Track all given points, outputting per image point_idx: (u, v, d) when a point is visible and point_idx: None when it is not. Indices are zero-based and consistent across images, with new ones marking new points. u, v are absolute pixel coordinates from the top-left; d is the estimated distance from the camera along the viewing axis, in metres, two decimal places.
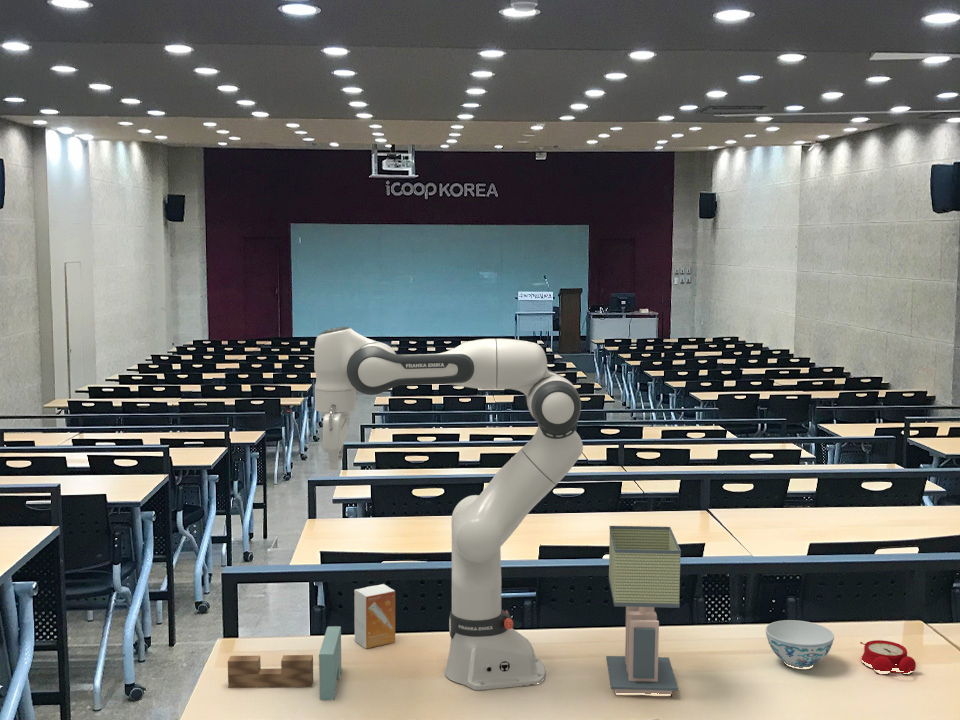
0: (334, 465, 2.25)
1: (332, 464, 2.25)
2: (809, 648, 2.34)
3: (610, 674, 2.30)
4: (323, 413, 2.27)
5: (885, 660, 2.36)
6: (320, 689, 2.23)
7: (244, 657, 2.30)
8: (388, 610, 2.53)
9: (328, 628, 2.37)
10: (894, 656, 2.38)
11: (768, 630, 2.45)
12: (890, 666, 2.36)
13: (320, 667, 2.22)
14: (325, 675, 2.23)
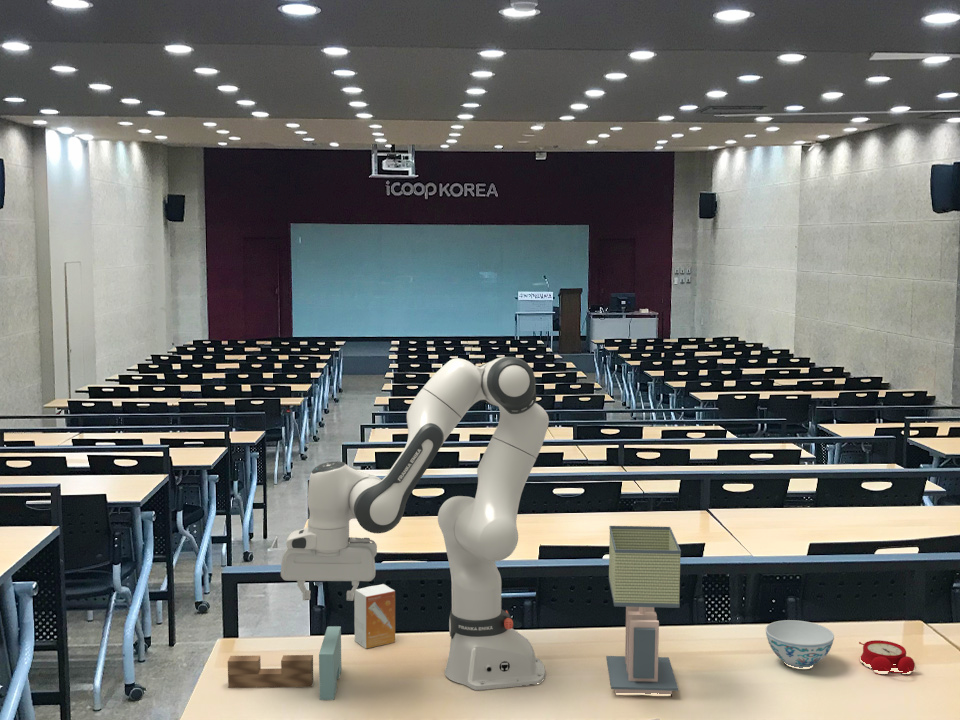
0: (353, 595, 2.29)
1: (353, 594, 2.29)
2: (809, 648, 2.34)
3: (610, 674, 2.30)
4: (336, 550, 2.25)
5: (884, 660, 2.36)
6: (320, 689, 2.23)
7: (244, 657, 2.30)
8: (388, 610, 2.53)
9: (328, 628, 2.37)
10: (893, 656, 2.38)
11: (768, 630, 2.45)
12: (889, 666, 2.36)
13: (320, 667, 2.22)
14: (325, 675, 2.23)
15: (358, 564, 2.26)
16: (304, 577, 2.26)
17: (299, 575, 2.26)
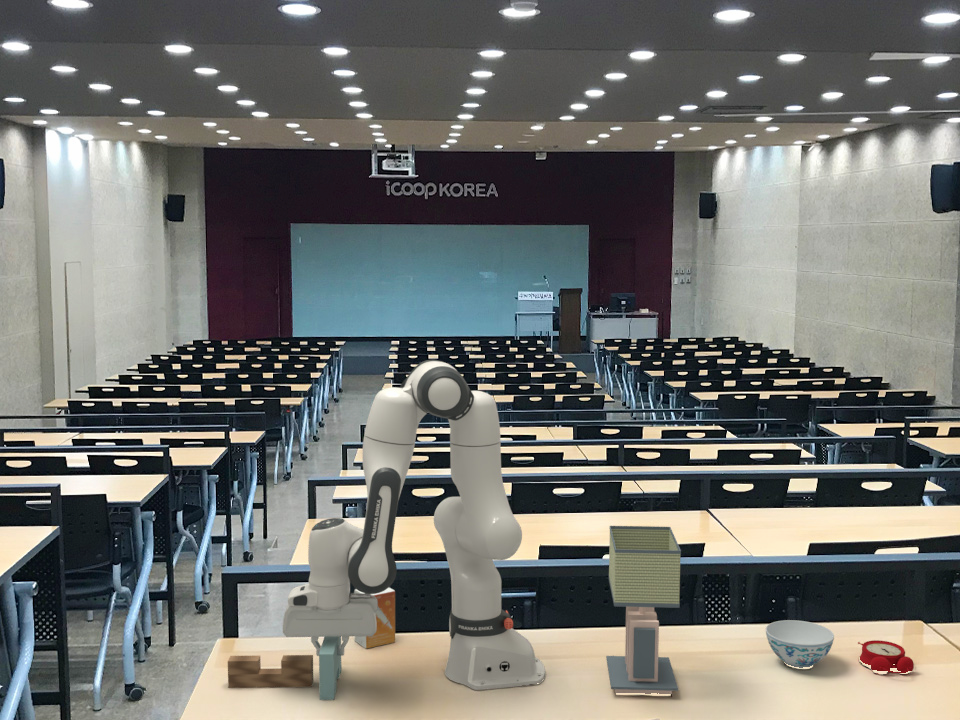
0: None
1: (343, 649, 2.30)
2: (809, 648, 2.34)
3: (610, 674, 2.30)
4: (337, 606, 2.27)
5: (883, 660, 2.36)
6: (320, 689, 2.23)
7: (244, 657, 2.30)
8: (388, 610, 2.53)
9: None
10: (892, 656, 2.38)
11: (768, 630, 2.45)
12: (888, 666, 2.36)
13: (320, 667, 2.22)
14: (325, 675, 2.23)
15: (359, 619, 2.28)
16: (306, 633, 2.28)
17: (301, 632, 2.28)
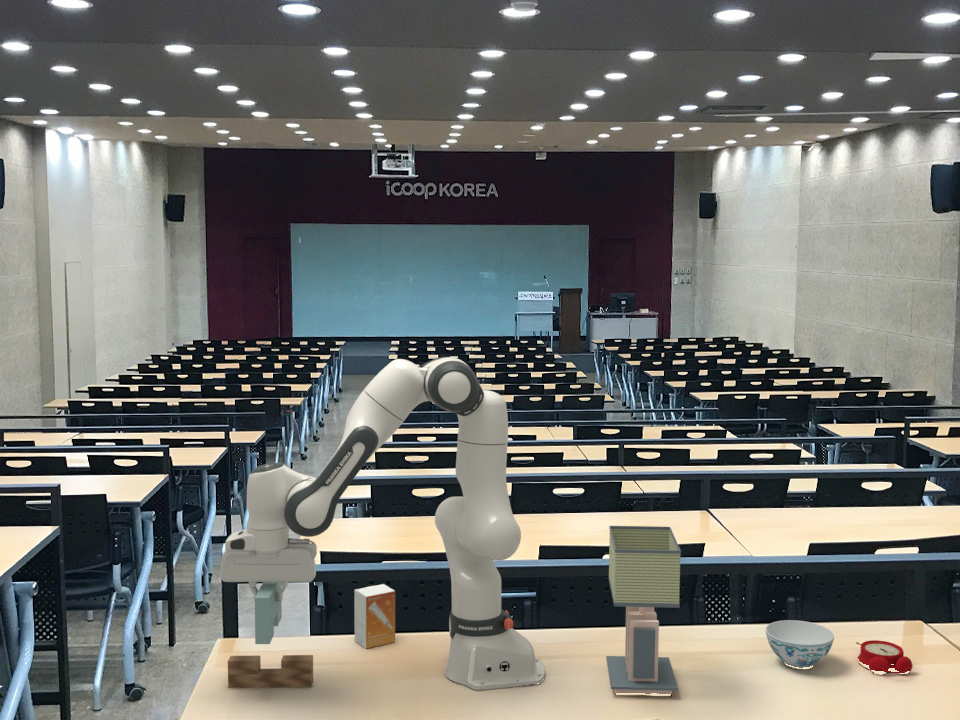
0: (282, 596, 2.29)
1: (282, 595, 2.28)
2: (809, 648, 2.34)
3: (610, 674, 2.30)
4: (275, 551, 2.25)
5: (881, 661, 2.36)
6: (256, 633, 2.21)
7: (244, 657, 2.30)
8: (388, 610, 2.53)
9: None
10: (891, 656, 2.38)
11: (768, 630, 2.45)
12: (887, 666, 2.35)
13: (256, 611, 2.20)
14: (261, 619, 2.21)
15: (297, 565, 2.26)
16: (243, 578, 2.26)
17: (238, 576, 2.26)
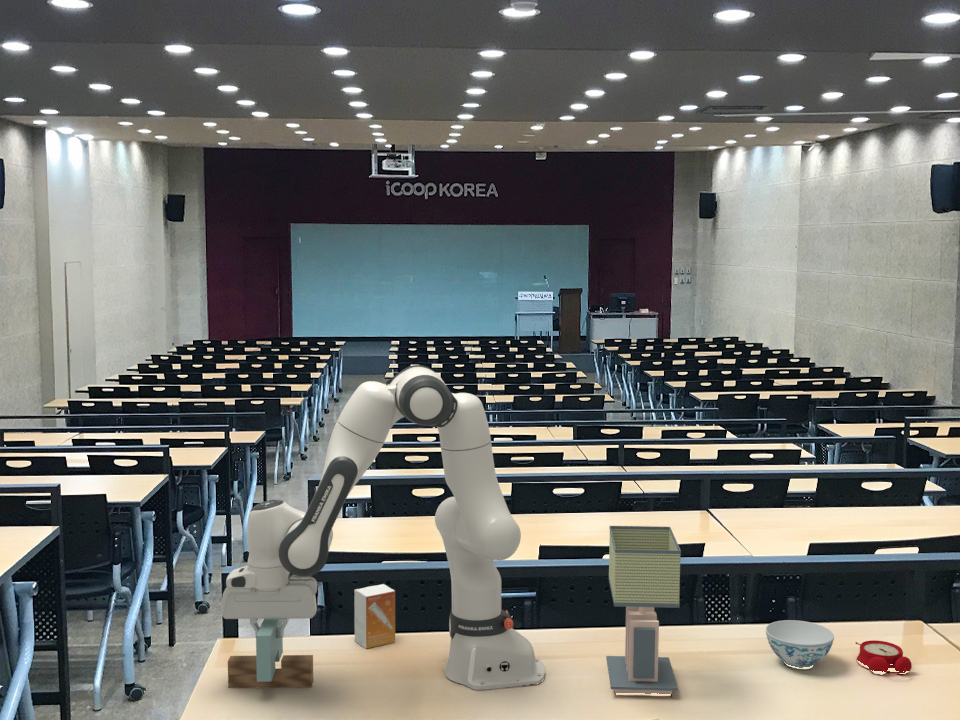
0: (283, 632, 2.29)
1: (283, 632, 2.29)
2: (809, 648, 2.34)
3: (610, 674, 2.30)
4: (276, 588, 2.26)
5: (881, 661, 2.36)
6: (257, 671, 2.22)
7: (244, 657, 2.30)
8: (388, 610, 2.53)
9: None
10: (890, 656, 2.38)
11: (768, 630, 2.45)
12: (886, 666, 2.35)
13: (257, 649, 2.21)
14: (262, 657, 2.21)
15: (298, 601, 2.27)
16: (244, 615, 2.27)
17: (239, 613, 2.27)
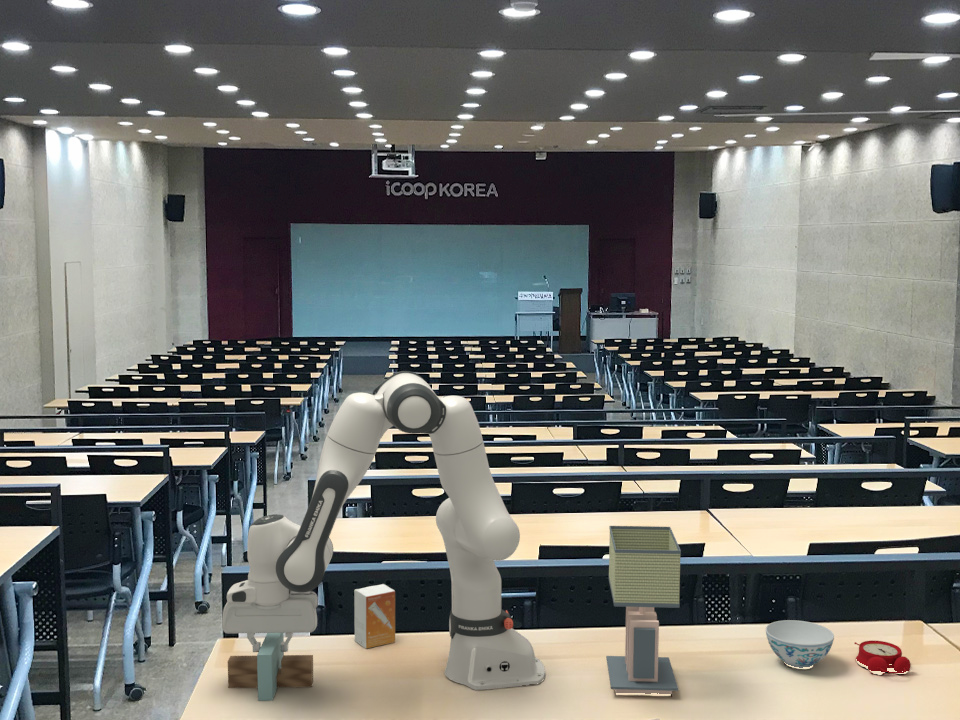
0: (287, 646, 2.30)
1: (287, 646, 2.30)
2: (809, 648, 2.34)
3: (610, 674, 2.30)
4: (277, 603, 2.26)
5: (880, 661, 2.36)
6: (258, 690, 2.22)
7: (244, 657, 2.30)
8: (388, 610, 2.53)
9: None
10: (889, 656, 2.37)
11: (768, 630, 2.45)
12: (885, 666, 2.35)
13: (258, 668, 2.22)
14: (263, 676, 2.22)
15: (298, 616, 2.27)
16: (245, 630, 2.27)
17: (240, 628, 2.27)
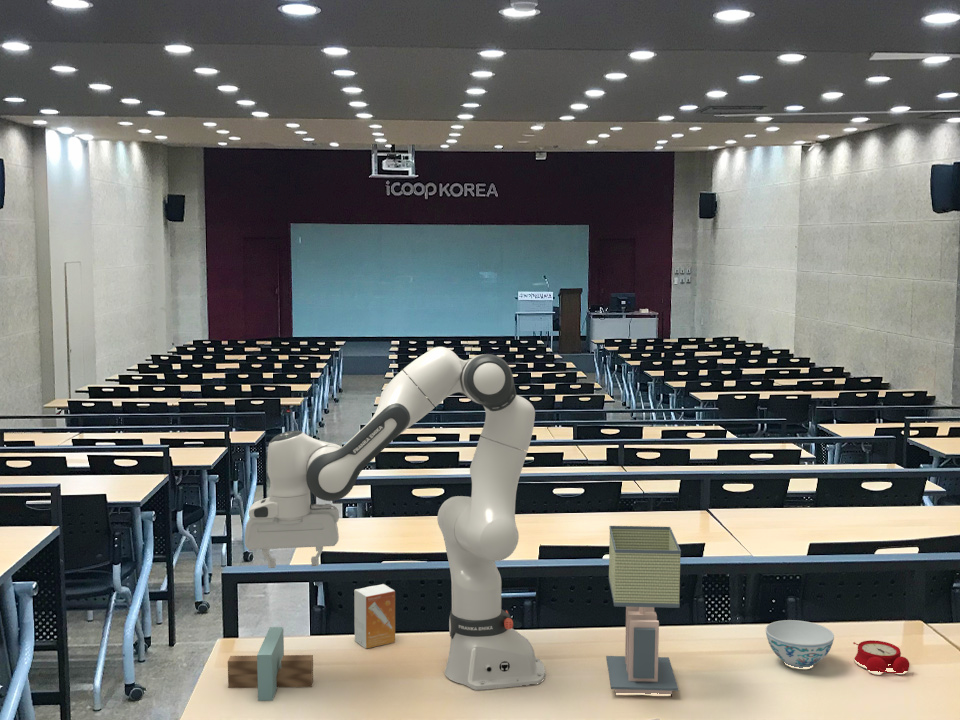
0: (318, 560, 2.33)
1: (318, 560, 2.32)
2: (809, 648, 2.34)
3: (610, 674, 2.30)
4: (298, 517, 2.29)
5: (879, 661, 2.36)
6: (258, 690, 2.22)
7: (244, 657, 2.30)
8: (388, 610, 2.53)
9: (270, 629, 2.36)
10: (888, 656, 2.37)
11: (768, 630, 2.45)
12: (884, 666, 2.35)
13: (258, 668, 2.22)
14: (263, 676, 2.22)
15: (320, 530, 2.30)
16: (268, 545, 2.30)
17: (263, 544, 2.30)
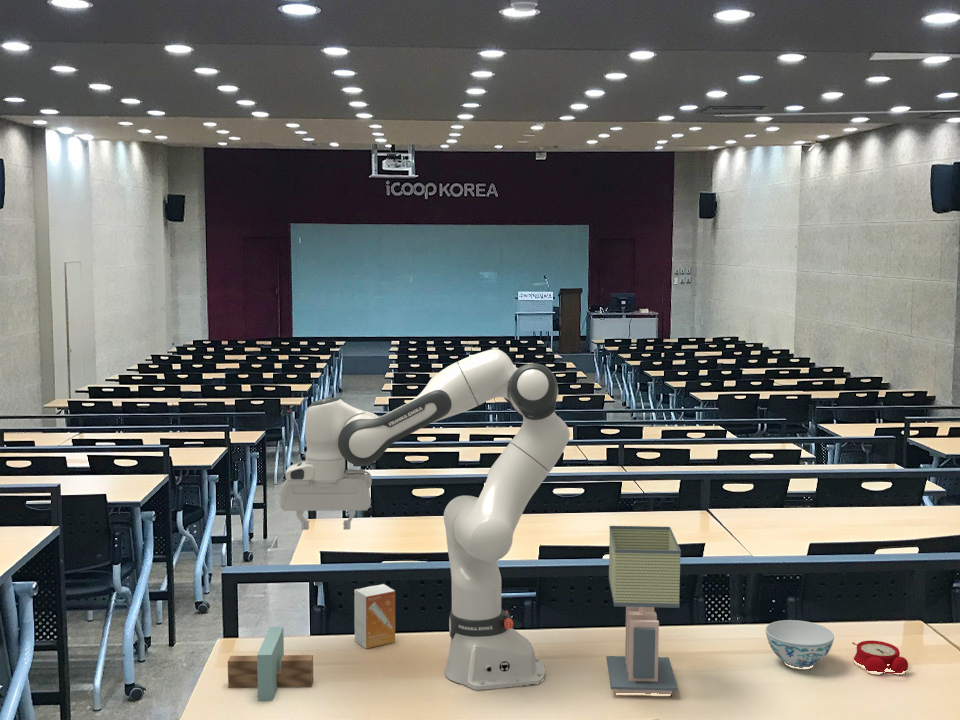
0: (350, 524, 2.41)
1: (350, 524, 2.40)
2: (809, 648, 2.34)
3: (610, 674, 2.30)
4: (333, 481, 2.37)
5: (878, 661, 2.36)
6: (258, 690, 2.22)
7: (244, 657, 2.30)
8: (388, 610, 2.53)
9: (270, 629, 2.36)
10: (887, 656, 2.37)
11: (768, 630, 2.45)
12: (883, 667, 2.35)
13: (258, 668, 2.22)
14: (263, 676, 2.22)
15: (353, 494, 2.38)
16: (303, 507, 2.38)
17: (298, 505, 2.38)
